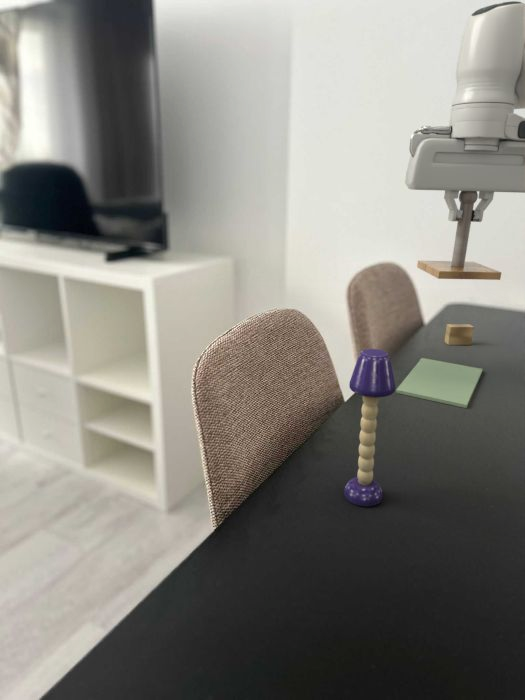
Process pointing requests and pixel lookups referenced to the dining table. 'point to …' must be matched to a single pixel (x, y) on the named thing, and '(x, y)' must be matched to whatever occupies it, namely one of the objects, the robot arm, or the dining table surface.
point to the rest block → (458, 334)
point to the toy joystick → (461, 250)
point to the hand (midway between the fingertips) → (464, 221)
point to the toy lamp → (369, 421)
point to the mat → (441, 382)
